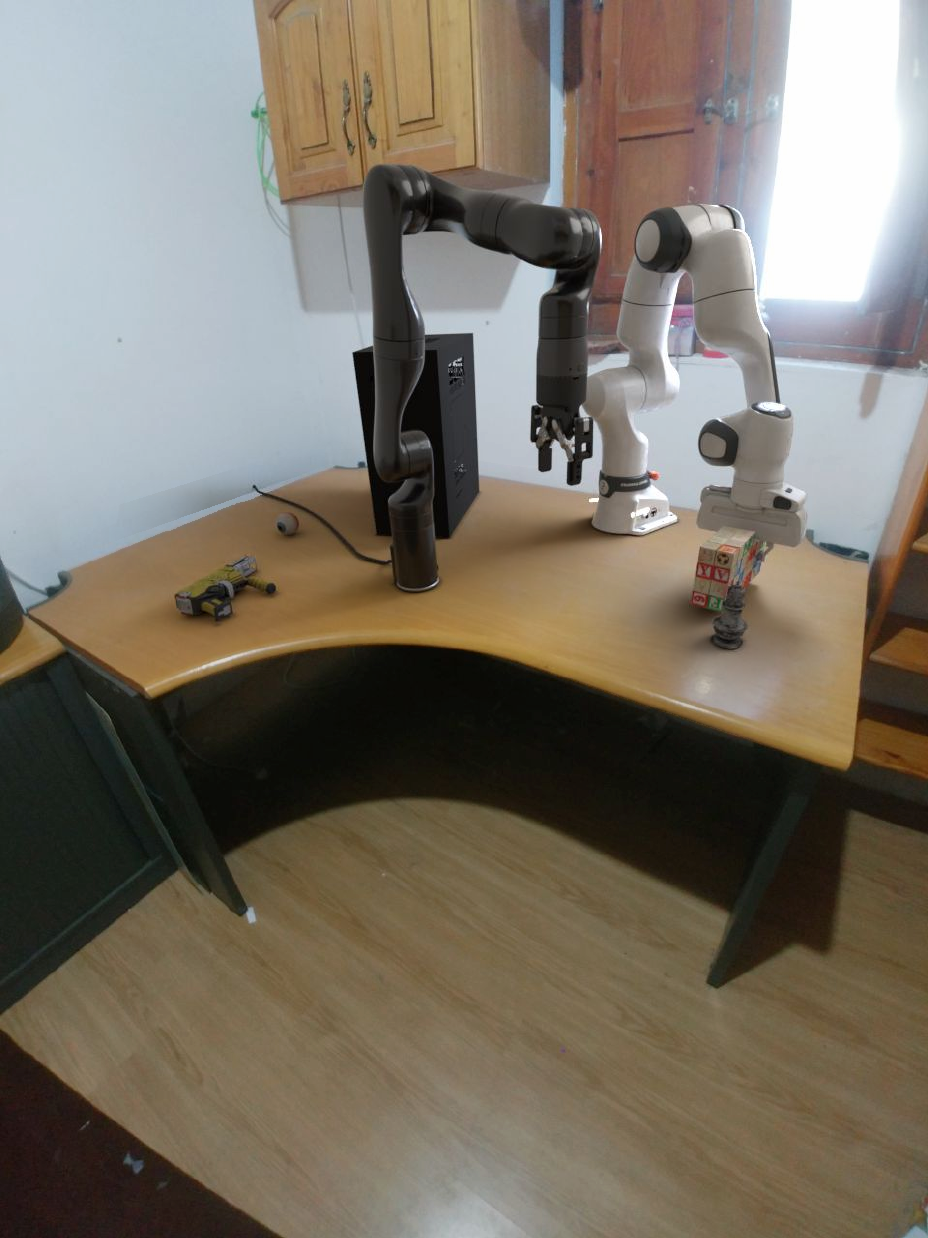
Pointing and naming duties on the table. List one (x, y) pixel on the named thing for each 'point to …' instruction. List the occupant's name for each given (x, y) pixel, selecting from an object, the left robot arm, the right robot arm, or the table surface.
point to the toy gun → (220, 589)
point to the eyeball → (287, 523)
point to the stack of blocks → (725, 565)
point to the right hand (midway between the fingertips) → (742, 556)
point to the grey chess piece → (731, 619)
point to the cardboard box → (431, 428)
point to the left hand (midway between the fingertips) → (558, 477)
